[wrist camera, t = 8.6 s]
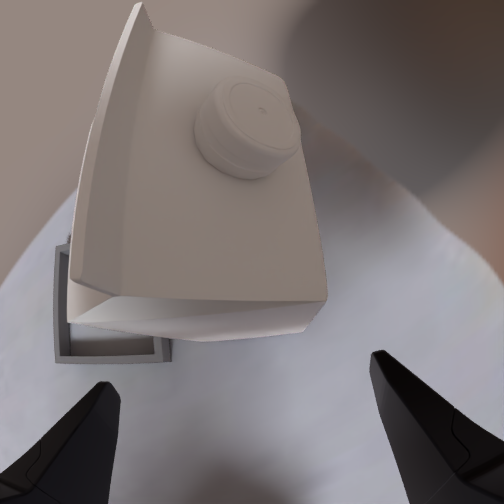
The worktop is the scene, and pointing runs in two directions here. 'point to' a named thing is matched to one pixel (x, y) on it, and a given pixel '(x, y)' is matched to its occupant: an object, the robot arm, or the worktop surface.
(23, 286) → the worktop surface
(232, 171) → the milk carton
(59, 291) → the drip tray
